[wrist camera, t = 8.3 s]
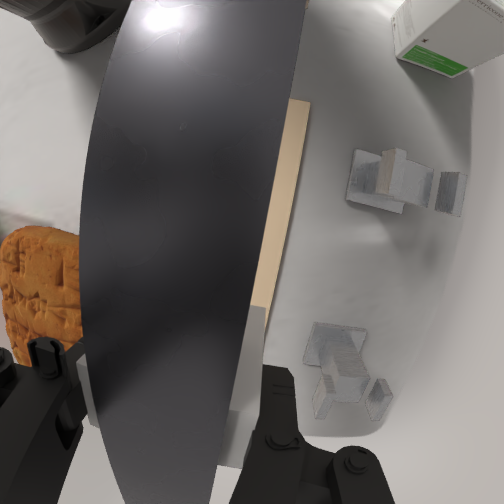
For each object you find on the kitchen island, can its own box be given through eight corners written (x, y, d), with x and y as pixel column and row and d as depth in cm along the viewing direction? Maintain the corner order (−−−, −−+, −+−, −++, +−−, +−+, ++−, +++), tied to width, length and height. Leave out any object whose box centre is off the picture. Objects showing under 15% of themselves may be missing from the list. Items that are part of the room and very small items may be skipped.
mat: (227, 90, 25) (226, 88, 24) (309, 103, 25) (310, 102, 24) (186, 362, 32) (185, 364, 31) (253, 376, 32) (253, 379, 31)
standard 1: (313, 321, 30) (330, 383, 19) (365, 329, 29) (398, 387, 19) (302, 359, 31) (311, 426, 21) (351, 365, 31) (374, 427, 20)
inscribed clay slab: (131, 393, 34) (108, 430, 26) (41, 351, 34) (11, 376, 27) (138, 240, 29) (98, 259, 21) (32, 212, 29) (-12, 222, 21)
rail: (204, -12, 7) (174, -85, 3) (309, -3, 7) (324, -82, 3) (155, 496, 13) (140, 540, 9) (208, 509, 13) (199, 556, 9)
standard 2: (353, 149, 25) (398, 132, 15) (407, 166, 25) (468, 162, 15) (344, 199, 26) (385, 209, 16) (399, 213, 26) (457, 230, 16)
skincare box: (393, 58, 22) (469, -11, 7) (389, 14, 21) (446, -60, 6) (454, 80, 22) (542, 42, 7) (448, 37, 21) (520, -12, 5)
